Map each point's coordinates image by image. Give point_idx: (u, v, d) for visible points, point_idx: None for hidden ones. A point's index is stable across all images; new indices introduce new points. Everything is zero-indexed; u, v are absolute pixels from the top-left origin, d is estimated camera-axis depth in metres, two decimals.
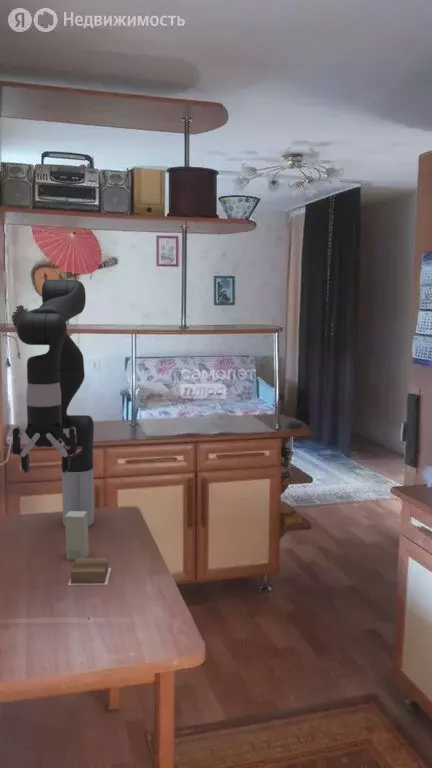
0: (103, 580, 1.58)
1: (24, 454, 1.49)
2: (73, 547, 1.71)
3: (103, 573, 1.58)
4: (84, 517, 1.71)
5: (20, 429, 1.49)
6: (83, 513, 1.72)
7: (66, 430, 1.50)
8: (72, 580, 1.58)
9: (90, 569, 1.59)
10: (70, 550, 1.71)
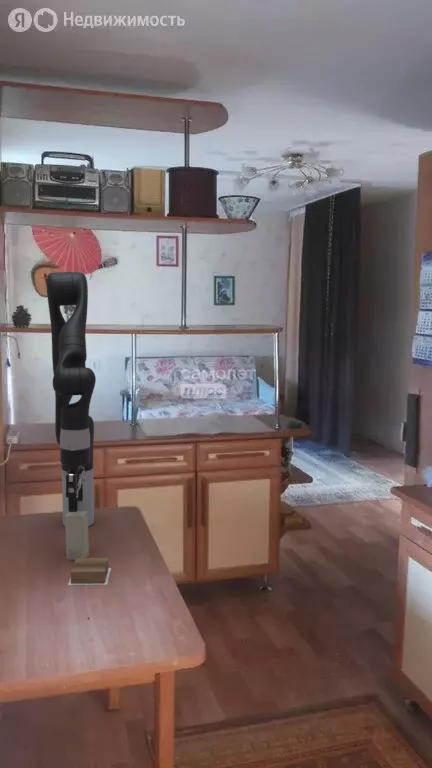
0: (103, 580, 1.58)
1: (77, 495, 1.67)
2: (73, 547, 1.71)
3: (103, 573, 1.58)
4: (84, 517, 1.71)
5: (73, 474, 1.65)
6: (83, 513, 1.72)
7: None
8: (72, 580, 1.58)
9: (90, 569, 1.59)
10: (70, 550, 1.71)
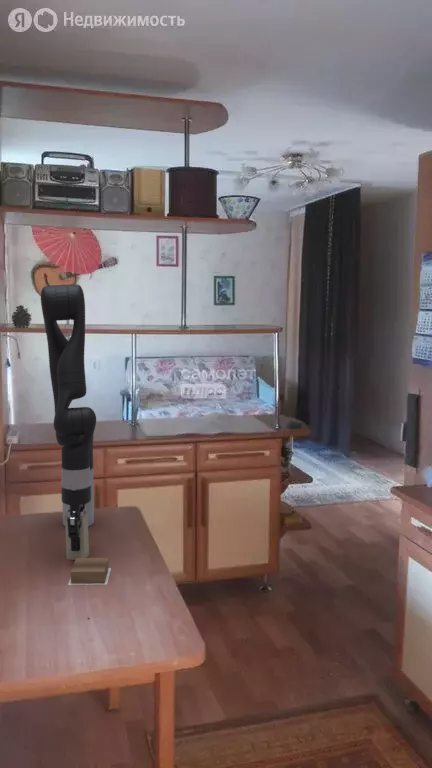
0: (103, 580, 1.58)
1: None
2: None
3: (103, 573, 1.58)
4: (84, 517, 1.71)
5: (74, 516, 1.67)
6: None
7: None
8: (72, 580, 1.58)
9: (90, 569, 1.59)
10: (70, 550, 1.71)
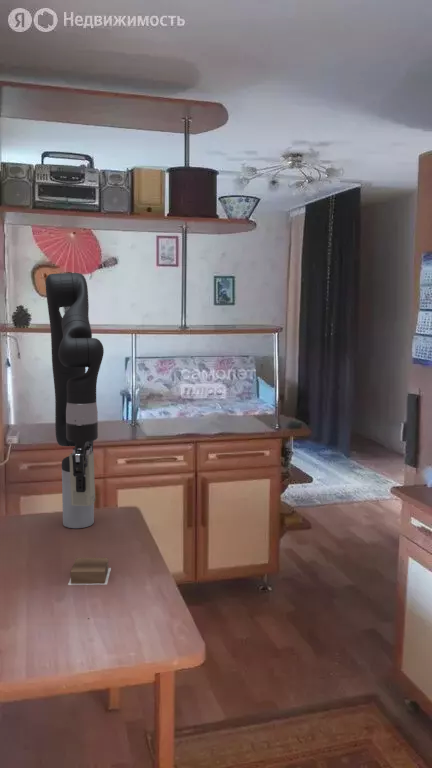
0: (103, 580, 1.58)
1: (85, 474, 1.59)
2: None
3: (103, 573, 1.58)
4: (90, 456, 1.60)
5: (80, 453, 1.56)
6: None
7: None
8: (72, 580, 1.58)
9: (90, 569, 1.59)
10: (75, 492, 1.61)
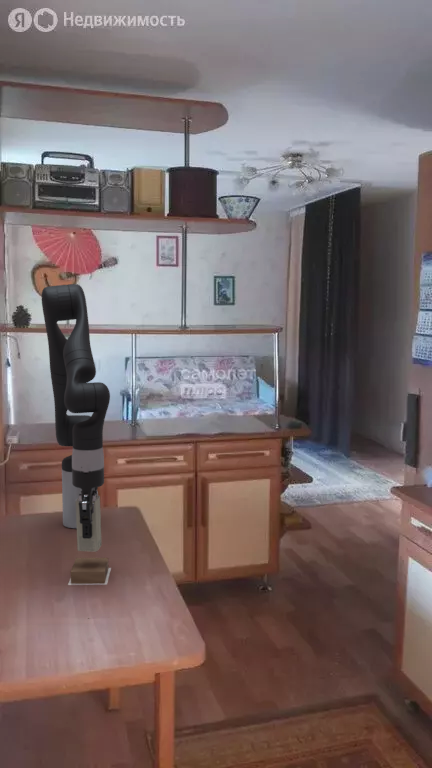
0: (103, 580, 1.58)
1: (92, 520, 1.57)
2: None
3: (103, 573, 1.58)
4: (96, 502, 1.58)
5: (86, 500, 1.54)
6: None
7: None
8: (72, 580, 1.58)
9: (90, 569, 1.59)
10: (82, 537, 1.59)
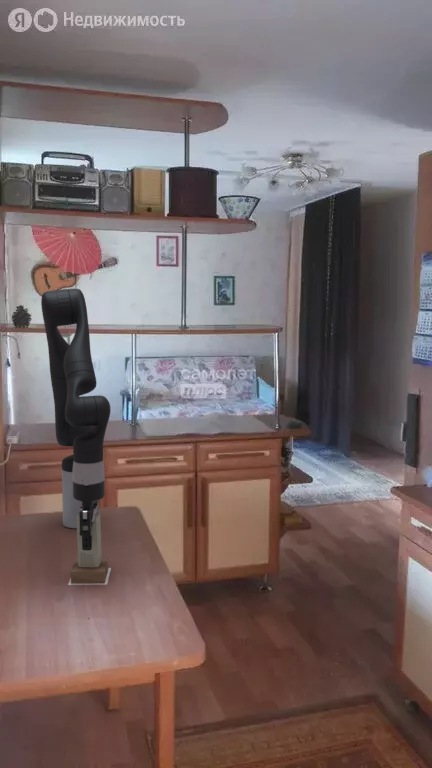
0: (103, 580, 1.58)
1: None
2: (85, 550, 1.59)
3: (103, 573, 1.58)
4: (97, 518, 1.59)
5: None
6: (96, 514, 1.60)
7: None
8: (72, 580, 1.58)
9: (90, 569, 1.59)
10: (83, 554, 1.59)
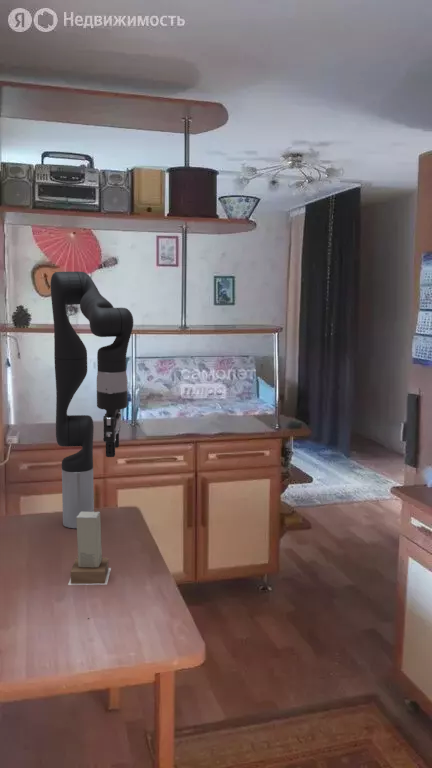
0: (103, 580, 1.58)
1: (115, 439, 1.62)
2: (85, 550, 1.59)
3: (103, 573, 1.58)
4: (97, 518, 1.59)
5: None
6: (96, 514, 1.60)
7: None
8: (72, 580, 1.58)
9: (90, 569, 1.59)
10: (83, 554, 1.59)
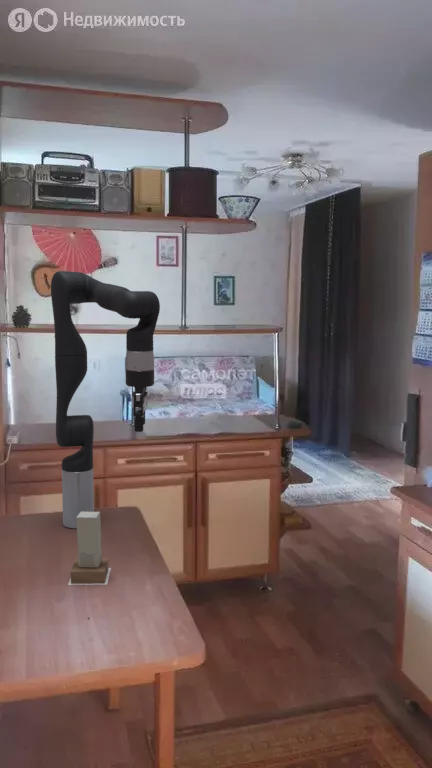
0: (103, 580, 1.58)
1: (143, 415, 1.71)
2: (85, 550, 1.59)
3: (103, 573, 1.58)
4: (97, 518, 1.59)
5: None
6: (96, 514, 1.60)
7: None
8: (72, 580, 1.58)
9: (90, 569, 1.59)
10: (83, 554, 1.59)
